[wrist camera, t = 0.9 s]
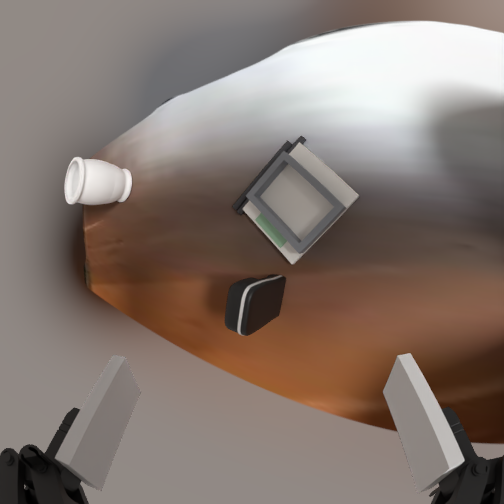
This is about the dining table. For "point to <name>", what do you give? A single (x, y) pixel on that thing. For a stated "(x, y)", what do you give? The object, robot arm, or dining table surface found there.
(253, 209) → the panel board
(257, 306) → the black rounded block
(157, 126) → the dining table surface
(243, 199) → the slim dark grey rod
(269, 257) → the dining table surface
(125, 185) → the jar
